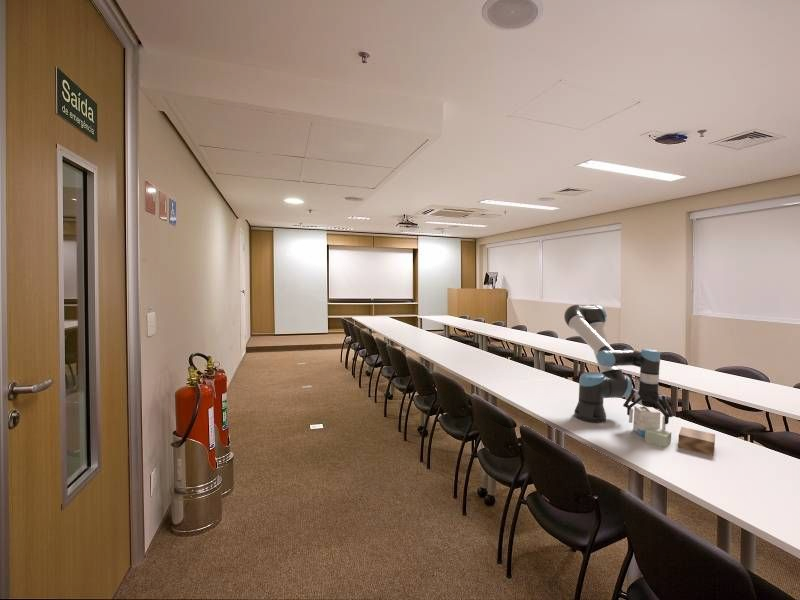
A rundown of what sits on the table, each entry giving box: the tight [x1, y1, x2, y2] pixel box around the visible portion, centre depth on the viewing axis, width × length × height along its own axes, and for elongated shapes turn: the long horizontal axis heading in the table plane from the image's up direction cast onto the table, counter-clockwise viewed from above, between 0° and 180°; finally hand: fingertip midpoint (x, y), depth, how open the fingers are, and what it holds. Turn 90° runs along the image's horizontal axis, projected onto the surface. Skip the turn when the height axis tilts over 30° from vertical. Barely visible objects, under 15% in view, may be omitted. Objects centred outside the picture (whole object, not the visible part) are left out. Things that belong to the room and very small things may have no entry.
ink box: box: [632, 403, 661, 437], centre depth 182 cm, size 9×8×13 cm
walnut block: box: [677, 426, 716, 457], centre depth 168 cm, size 12×12×6 cm
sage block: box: [644, 427, 672, 448], centre depth 172 cm, size 8×8×5 cm
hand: (646, 426), depth 182 cm, fingers open, 13 cm apart
